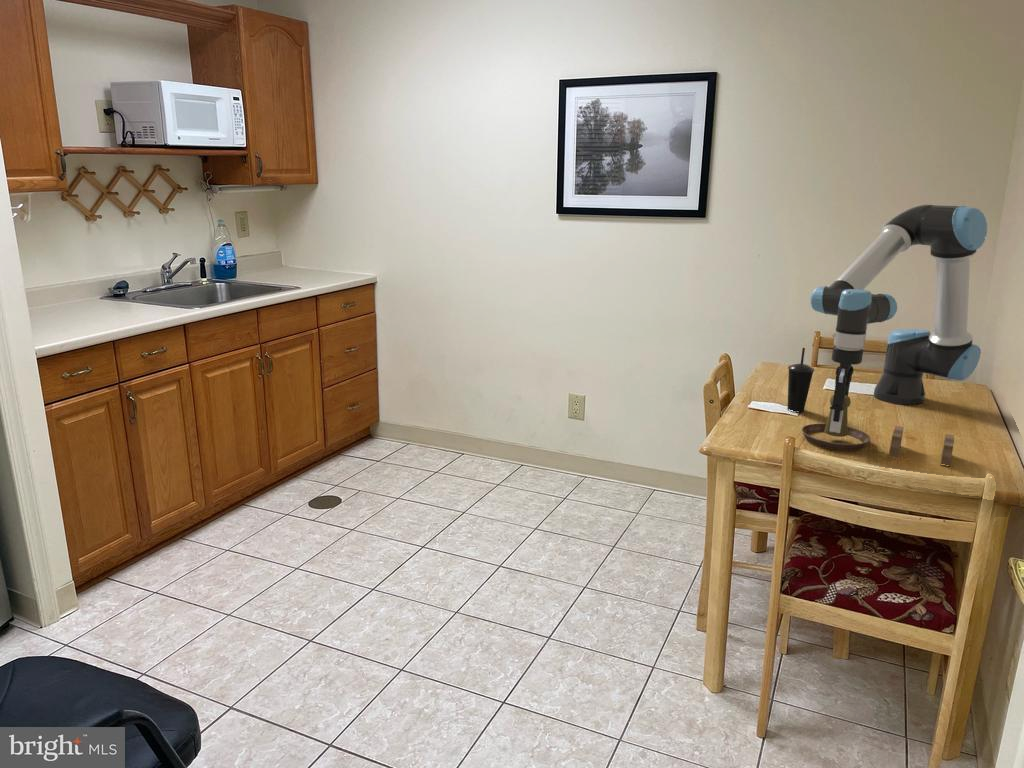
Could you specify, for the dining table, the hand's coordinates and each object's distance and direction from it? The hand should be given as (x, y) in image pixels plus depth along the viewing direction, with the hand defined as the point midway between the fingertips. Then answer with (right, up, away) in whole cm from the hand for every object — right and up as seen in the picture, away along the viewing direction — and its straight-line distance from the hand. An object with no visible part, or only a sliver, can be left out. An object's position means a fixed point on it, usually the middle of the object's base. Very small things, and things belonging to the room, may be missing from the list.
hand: (836, 429), depth 207 cm
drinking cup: (-1, +4, +27) cm, 27 cm away
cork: (0, -1, 0) cm, 1 cm away
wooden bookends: (+18, -6, -9) cm, 21 cm away
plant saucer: (0, -4, +1) cm, 4 cm away
